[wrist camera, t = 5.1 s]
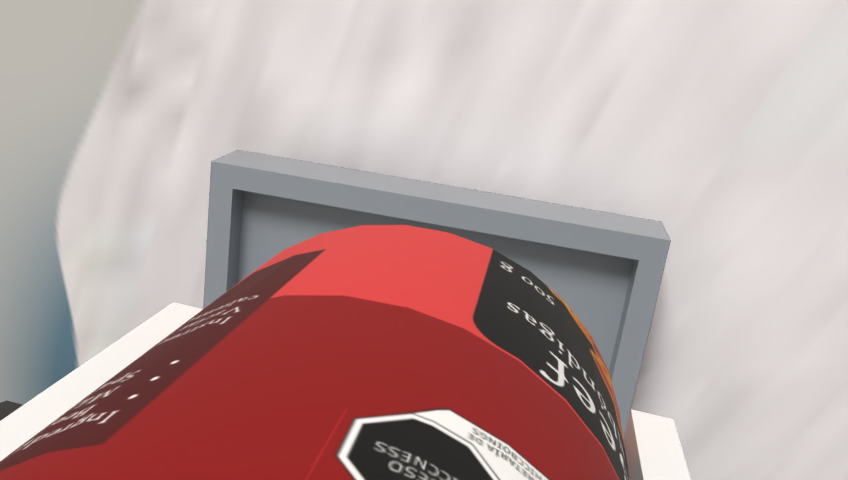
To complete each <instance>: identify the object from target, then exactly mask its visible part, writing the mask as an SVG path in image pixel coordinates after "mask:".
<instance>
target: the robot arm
mask: <svg viewBox="0 0 848 480" xmlns="http://www.w3.org/2000/svg"><path fill="white" fill-rule="evenodd" d="M202 310H203V309H200V308H196V307H191V306H187V305H183V304H179V303H174V302H173V303H171V304H170V305H169V306H167V307H166V308H164V309H163V310H161V311H160V312H158V313H157V314H155V315H154V316H153V317H151V318H150V319H148V320H147V321H145V322H144V323H142V324H141V325H139V326H138V327H137V328H135V329H134V330H132V331H131V332H129V333H128V334H126V335H125V336H123V337H122V338H120V339H119V340H118V341H116V342H115V343H113V344H112V345H110V346H109V347H107V348H106V349H104V350H103V351H102V352H100V353H99V354H97V355H96V356H94V357H93V358H91V359H90V360H88V361H87V362H86V363H84V364H83V365H81V366H80V367H78V368H77V369H75V370H74V371H72V372H71V373H70V374H68V375H67V376H65V377H64V378H62V379H61V380H59V381H58V382H57V383H55V384H54V385H52V386H51V387H49V388H48V389H46V390H45V391H43V392H42V393H40V394H39V395H37V396H36V397H35V398H33V399H32V400H30V401H29V402H27V403H26V404H24V405H21V404H18V403H14V402H10V401H5V402H2V403H0V461H1V460H3V459H4V458H5V457H7V456H8V455H9V454H11V453H12V452H13V451H15V450H16V449H17V448H19V447H20V446H21V445H23V444H24V443H25V442H27V441H28V440H29V439H31V438H32V437H33V436H35V435H36V434H37V433H39V432H40V431H41V430H43V429H44V428H45V427H47V426H48V425H49V424H51V423H52V422H53V421H55V420H56V419H57V418H59V417H60V416H61V415H63V414H64V413H65V412H67V411H68V410H69V409H71V408H72V407H73V406H75V405H76V404H77V403H79V402H80V401H81V400H83V399H84V398H85V397H87V396H88V395H89V394H91V393H92V392H93V391H95V390H96V389H97V388H99V387H100V386H101V385H103V384H104V383H105V382H107V381H108V380H109V379H111V378H112V377H113V376H115V375H116V374H117V373H119V372H120V371H121V370H123V369H124V368H125V367H127V366H128V365H129V364H131V363H132V362H133V361H135V360H136V359H137V358H139V357H140V356H141V355H143V354H144V353H145V352H147V351H148V350H149V349H151V348H152V347H153V346H155V345H156V344H157V343H159V342H160V341H161V340H163V339H164V338H165V337H167V336H168V335H169V334H171V333H172V332H174V331H175V330H176V329H178V328H179V327H180V326H182V325H183V324H184V323H186V322H187V321H188V320H190V319H191V318H192V317H194V316H195V315H196V314H198V313H199V312H200V311H202ZM623 439H624V446H625V452H626V458H627V465H628V471H629V477H630V480H691V478H690V475H689V471H688V468H687V464H686V461H685V457H684V454H683V450H682V447H681V443H680V440H679V436H678V433H677V429H676V426H675V422H674V419H670V418H666V417H662V416H658V415H653V414H649V413H645V412H641V411H636V410H632V409H631V411H630V415H629V418H628V422H627V426H626V429H625V433H624V437H623Z"/></svg>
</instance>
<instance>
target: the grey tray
mask: <svg viewBox="0 0 848 480" xmlns="http://www.w3.org/2000/svg"><path fill="white" fill-rule="evenodd" d="M361 225H409V226H415V227H420V228H426V229H432V230H438V231H443V232H449V233H452V234H454V235H457V236H460V237H463V238H465V239H468V240H471V241H473V242H476V243H479V244H481V245H484V246H487V247H490V248H492V249H494V250H495V251H497V252H499V253H500V254H502V255H504V256H506V257H507V258H509V259H511V260H512V261H514V262H516V263H517V264H519V265H521V266H522V267H524V268H526V269H527V270H529V271H531V272H532V273H533V274H534V275H535V276H536V277H538V278H539V279H540V280H541V281H542V282H543V283H544V284H546V285H547V286H548V287H549V288H550V289H551V290H552V291H554V292H555V293H556V294H557V295H558V296H559V297H560V298H562V299H563V300H564V301H565V302H566V304H567V305H568V306H569V308H570V309H571V310H572V311H573V313H574V314H575V315H576V317H577V318H578V319H579V320H580V322H581V323H582V324H583V326H584V327H585V328H586V329H587V331H588V332H589V333H590V335H591V336H592V338H593V340H594V342H595V344H596V346H597V348H598V350H599V353H600V355H601V357H602V359H603V361H604V363H605V365H606V367H607V369H608V371H609V373H610V377H611V381H612V385H613V389H614V393H615V397H616V401H617V405H618V409H619V414H620V420H621V427H622V433H623V437H624V433H625V429H626V426H627V421H628V417H629V413H630V409H631V405H632V401H633V396H634V392H635V388H636V384H637V380H638V375H639V371H640V367H641V363H642V359H643V355H644V350H645V346H646V342H647V338H648V334H649V330H650V325H651V321H652V317H653V313H654V309H655V304H656V300H657V296H658V292H659V288H660V284H661V279H662V275H663V271H664V267H665V263H666V258H667V254H668V250H669V246H670V242H671V240H670V238H669V236H668V234H667V232H666V229H665V227H664V225H663V223H662V222H661V221H655V220H649V219H643V218H637V217H631V216H625V215H620V214H614V213H608V212H602V211H596V210H590V209H584V208H578V207H572V206H566V205H561V204H555V203H549V202H543V201H537V200H531V199H525V198H519V197H513V196H508V195H502V194H496V193H490V192H484V191H478V190H472V189H466V188H460V187H455V186H449V185H443V184H437V183H431V182H425V181H419V180H413V179H407V178H401V177H396V176H390V175H384V174H378V173H372V172H366V171H360V170H354V169H348V168H343V167H337V166H331V165H325V164H319V163H313V162H307V161H301V160H295V159H289V158H284V157H278V156H272V155H266V154H260V153H254V152H248V151H242V150H237V151H234V152H232V153H230V154H227V155H225V156H222V157H220V158H218V159H215V160H213V161H211V174H210V193H209V211H208V230H207V249H206V268H205V287H204V305H203V309H204V308H206V307H207V306H208V305H210V304H211V303H212V302H214V301H215V300H216V299H218V298H219V297H220V296H222V295H223V294H224V293H226V292H227V291H228V290H230V289H231V288H232V287H234V286H235V285H236V284H238V283H239V282H240V281H242V280H243V279H244V278H246V277H247V276H248V275H250V274H251V273H252V272H254V271H255V270H256V269H258V268H259V267H261V266H262V265H263V264H265V263H266V262H268V261H269V260H270V259H272V258H273V257H275V256H276V255H277V254H279V253H280V252H282V251H283V250H284V249H287V248H289V247H291V246H294V245H296V244H298V243H301V242H303V241H305V240H308V239H310V238H312V237H315V236H317V235H319V234H322V233H327V232H332V231H337V230H342V229H346V228H351V227H356V226H361Z"/></svg>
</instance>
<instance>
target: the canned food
mask: <svg viewBox="0 0 848 480" xmlns="http://www.w3.org/2000/svg"><path fill="white" fill-rule="evenodd" d="M0 480H630V477H629V471H628V465H627V458H626V452H625V446H624V439H623V433H622V427H621V420H620V414H619V409H618V405H617V401H616V397H615V393H614V389H613V385H612V381H611V377H610V373H609V371H608V369H607V367H606V365H605V363H604V361H603V359H602V357H601V355H600V353H599V350H598V348H597V346H596V344H595V342H594V340H593V338H592V336H591V335H590V333H589V332H588V331H587V329H586V328H585V327H584V326H583V324H582V323H581V322H580V320H579V319H578V318H577V317H576V315H575V314H574V313H573V311H572V310H571V309H570V308H569V306H568V305H567V304H566V302H565V301H564V300H563V299H562V298H560V297H559V296H558V295H557V294H556V293H555V292H554V291H552V290H551V289H550V288H549V287H548V286H547V285H546V284H544V283H543V282H542V281H541V280H540V279H539V278H538V277H536V276H535V275H534V274H533V273H532V272H531V271H529V270H527V269H526V268H524V267H522V266H521V265H519V264H517V263H516V262H514V261H512V260H511V259H509V258H507V257H506V256H504V255H502V254H500V253H499V252H497V251H495V250H494V249H492V248H490V247H487V246H484V245H481V244H479V243H476V242H473V241H471V240H468V239H465V238H463V237H460V236H457V235H454V234H452V233H449V232H443V231H438V230H432V229H426V228H420V227H415V226H409V225H361V226H356V227H351V228H346V229H342V230H337V231H332V232H327V233H322V234H319V235H317V236H315V237H312V238H310V239H308V240H305V241H303V242H301V243H298V244H296V245H294V246H291V247H289V248H287V249H284V250H283V251H282V252H280V253H279V254H277V255H276V256H275V257H273V258H272V259H270V260H269V261H268V262H266V263H265V264H263V265H262V266H261V267H259V268H258V269H256V270H255V271H254V272H252V273H251V274H250V275H248V276H247V277H246V278H244V279H243V280H242V281H240V282H239V283H238V284H236V285H235V286H234V287H232V288H231V289H230V290H228V291H227V292H226V293H224V294H223V295H222V296H220V297H219V298H218V299H216V300H215V301H214V302H212V303H211V304H210V305H208V306H207V307H206V308H204V309H203V310H202V311H200V312H199V313H198V314H196V315H195V316H194V317H192V318H191V319H190V320H188V321H187V322H186V323H184V324H183V325H182V326H180V327H179V328H178V329H176V330H175V331H174V332H172V333H171V334H169V335H168V336H167V337H165V338H164V339H163V340H161V341H160V342H159V343H157V344H156V345H155V346H153V347H152V348H151V349H149V350H148V351H147V352H145V353H144V354H143V355H141V356H140V357H139V358H137V359H136V360H135V361H133V362H132V363H131V364H129V365H128V366H127V367H125V368H124V369H123V370H121V371H120V372H119V373H117V374H116V375H115V376H113V377H112V378H111V379H109V380H108V381H107V382H105V383H104V384H103V385H101V386H100V387H99V388H97V389H96V390H95V391H93V392H92V393H91V394H89V395H88V396H87V397H85V398H84V399H83V400H81V401H80V402H79V403H77V404H76V405H75V406H73V407H72V408H71V409H69V410H68V411H67V412H65V413H64V414H63V415H61V416H60V417H59V418H57V419H56V420H55V421H53V422H52V423H51V424H49V425H48V426H47V427H45V428H44V429H43V430H41V431H40V432H39V433H37V434H36V435H35V436H33V437H32V438H31V439H29V440H28V441H27V442H25V443H24V444H23V445H21V446H20V447H19V448H17V449H16V450H15V451H13V452H12V453H11V454H9V455H8V456H7V457H5V458H4V459H3V460H1V461H0Z"/></svg>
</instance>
